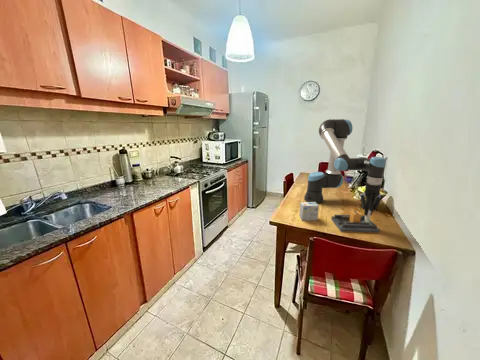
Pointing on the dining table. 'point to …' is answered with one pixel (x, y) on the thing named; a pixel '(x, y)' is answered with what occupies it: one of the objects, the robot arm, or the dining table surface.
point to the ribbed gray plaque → (356, 224)
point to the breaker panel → (345, 220)
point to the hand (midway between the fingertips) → (366, 219)
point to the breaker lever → (355, 216)
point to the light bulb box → (309, 210)
